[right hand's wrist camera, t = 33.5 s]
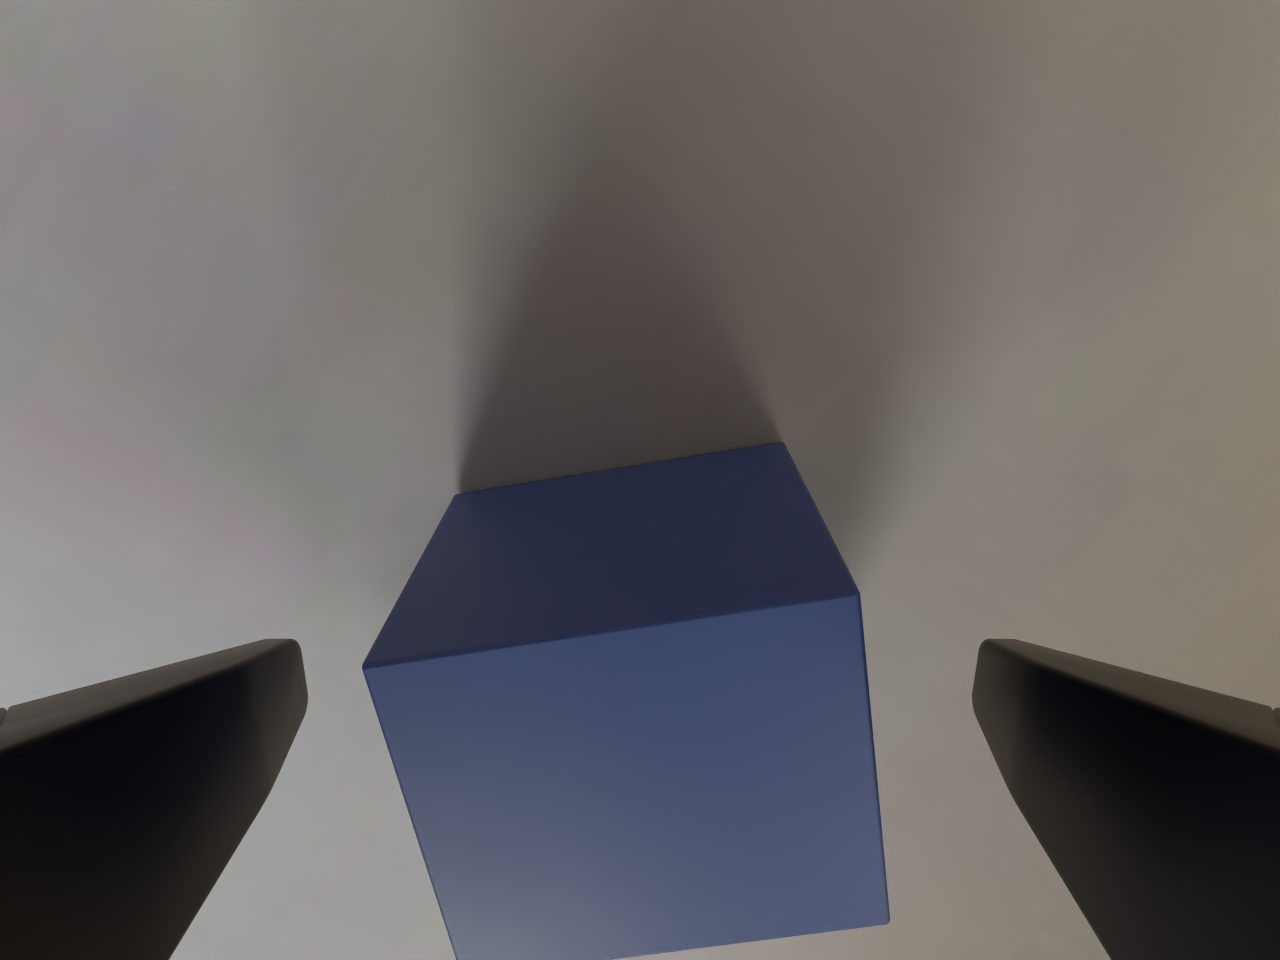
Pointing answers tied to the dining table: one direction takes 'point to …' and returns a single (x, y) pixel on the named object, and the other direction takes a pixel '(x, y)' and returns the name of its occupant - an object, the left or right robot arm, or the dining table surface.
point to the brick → (636, 714)
